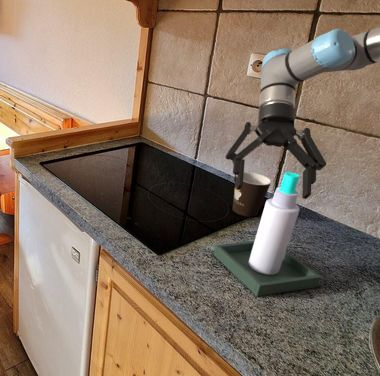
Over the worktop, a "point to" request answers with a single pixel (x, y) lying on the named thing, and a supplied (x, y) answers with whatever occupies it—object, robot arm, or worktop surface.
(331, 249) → the worktop surface
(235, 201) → the coffee mug
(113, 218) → the worktop surface
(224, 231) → the worktop surface
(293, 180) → the spray bottle
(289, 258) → the tray
